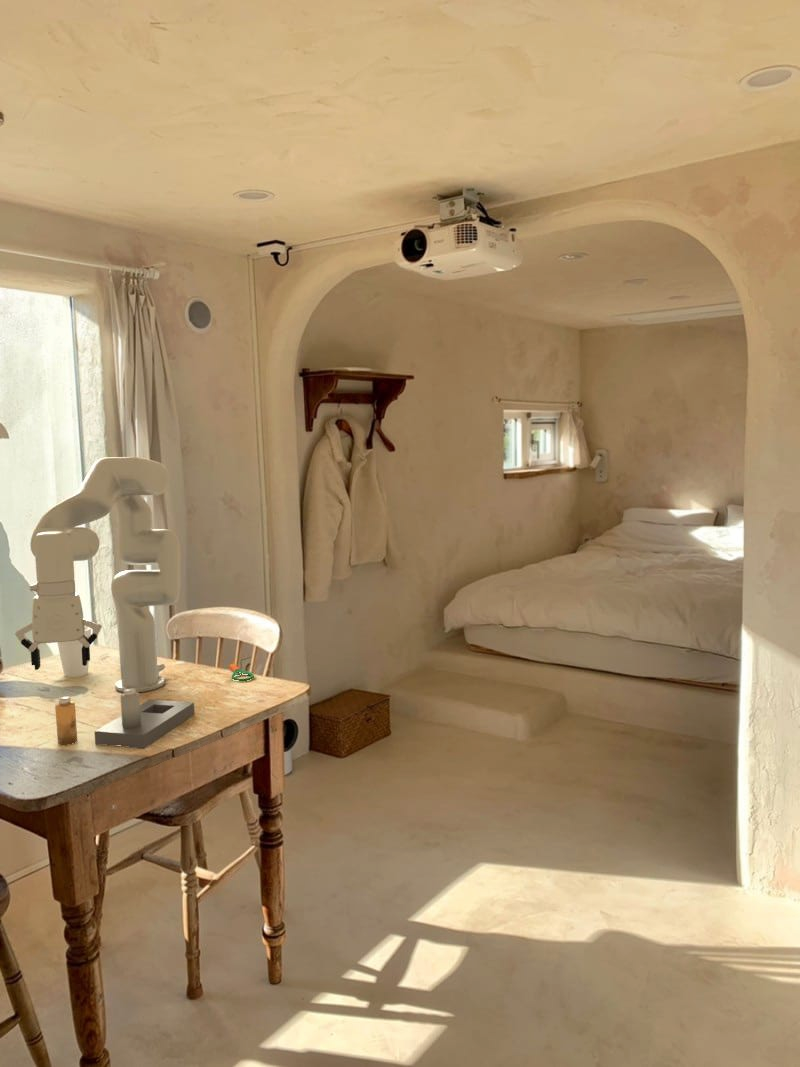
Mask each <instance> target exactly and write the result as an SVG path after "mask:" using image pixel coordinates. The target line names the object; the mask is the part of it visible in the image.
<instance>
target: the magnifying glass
mask: <svg viewBox="0 0 800 1067" xmlns="http://www.w3.org/2000/svg"><path fill="white" fill-rule="evenodd" d="M228 667H229V669H230V670H231V671H232V674H231V680H232V679H234V680H239V681H246V682H248V681H247V680H250V679H252V678H255V676H254V673H253V672H250V671H246V670H242V669H240V668H239V667H238V666H237V664H235V663H230V664H229V665H228ZM239 672H241V673H239ZM242 673H243V674H248V675H247V676H246V677H247V678H246V677H245V678H238V677H236V678H234V676H235V675H240V674H241V675H242ZM250 676H251V677H250ZM252 680H253V679H252ZM250 681H251V680H250Z"/></svg>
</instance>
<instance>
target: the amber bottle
mask: <svg viewBox="0 0 800 1067" xmlns="http://www.w3.org/2000/svg"><path fill="white" fill-rule="evenodd" d="M54 709H55V720H56V723H55V724H56V735H57V744H61V745H60V746H62V745H65V746H68V745H67V744H71V745H73V744H72V743H74V744H76V743H77V742H78V732H77V715H76V703H75V702H74V701H72V699H71V696H61V697H59V698H58V703H57V704H55V706H54ZM76 741H77V742H76ZM75 742H76V743H75Z"/></svg>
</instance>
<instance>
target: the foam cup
mask: <svg viewBox="0 0 800 1067" xmlns="http://www.w3.org/2000/svg"><path fill="white" fill-rule="evenodd" d="M84 628H85V630H84V635H85V636H86V637H87V638H89V637H90V636H91V635H92V628H89V627H87V626H84ZM56 644H57V647H58V653H59V656H60V662H61V665H62V670H63V674H64V677H66V678H77V677H83V676H86V675H87V674H88V673H89V663H90V662H89V661H87V665H86V666H84V665H83V664H82V647H83V645H82V644H81V643H80V642H79V641H78V640H76V641H68V642H56ZM90 646H91V645H90ZM90 646H89V648H91V647H90Z"/></svg>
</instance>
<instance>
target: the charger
mask: <svg viewBox="0 0 800 1067" xmlns="http://www.w3.org/2000/svg"><path fill="white" fill-rule="evenodd" d="M140 696H141V695H140V692H135V689H126V690H124V692H122V694H120V711H121V715H120V716H118V717H117V718H115V719H113V720H112V721H110V722H108V723H106V724H105V725H103V726H101V727H99V728H98V729H95V730H94V741H95V744H94V745H97V744H107V745H106V746H109V745H121V746H129V747H128V748H132V747H137V748H136V749H146V748H147V747H149V746H150V745H152V744H153V743H154V741H155V742H156V741H157V739H158V740H159V739H161V738H162V737H164V736H165V735H166V734H168V733H169V732H171V731H172V730H174V729H175V728H177V727H178V726H180V725H181V724H184V722H186V721H187V720H189V719H190V718H192V717H193V716H194V715H195V702H194V701H178V700H163V699H150V698H149V699H148V700H146V701H144V702H143V703H142V702H141V700H140V699H141V697H140ZM151 743H152V744H151ZM148 745H149V746H148Z"/></svg>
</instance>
